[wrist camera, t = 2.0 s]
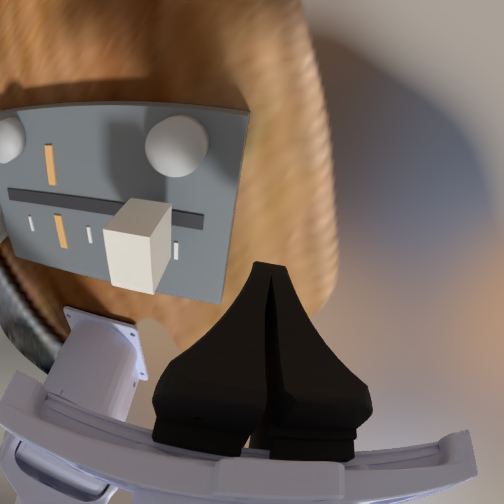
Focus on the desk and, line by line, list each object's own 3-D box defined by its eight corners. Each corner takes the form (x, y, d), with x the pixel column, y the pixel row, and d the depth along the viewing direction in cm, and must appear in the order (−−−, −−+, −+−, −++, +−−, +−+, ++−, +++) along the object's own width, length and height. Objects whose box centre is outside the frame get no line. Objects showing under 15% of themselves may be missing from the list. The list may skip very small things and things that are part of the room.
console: (223, 289, 21) (217, 317, 18) (25, 246, 20) (7, 265, 18) (250, 111, 14) (245, 120, 12) (1, 110, 13) (-25, 121, 11)
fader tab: (177, 244, 17) (153, 294, 13) (141, 238, 17) (111, 285, 13) (178, 193, 15) (149, 237, 11) (139, 188, 15) (102, 228, 11)
